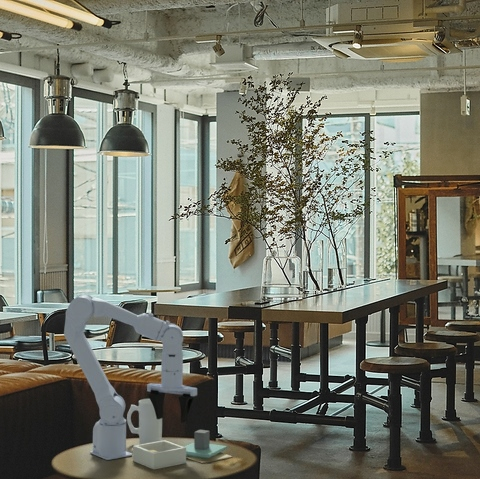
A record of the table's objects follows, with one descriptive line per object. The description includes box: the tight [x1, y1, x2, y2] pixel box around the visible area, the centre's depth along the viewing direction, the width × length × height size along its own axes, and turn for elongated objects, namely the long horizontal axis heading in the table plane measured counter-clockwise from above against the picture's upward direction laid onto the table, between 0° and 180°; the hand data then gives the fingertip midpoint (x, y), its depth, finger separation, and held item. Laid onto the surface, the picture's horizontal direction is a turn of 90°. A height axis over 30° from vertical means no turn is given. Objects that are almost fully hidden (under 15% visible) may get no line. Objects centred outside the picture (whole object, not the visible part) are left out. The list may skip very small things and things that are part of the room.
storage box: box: [132, 439, 187, 470], centre depth 238 cm, size 10×10×4 cm
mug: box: [126, 398, 163, 445], centre depth 258 cm, size 10×7×12 cm, turn 90°
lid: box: [183, 429, 228, 459], centre depth 245 cm, size 10×10×6 cm
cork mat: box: [186, 452, 234, 465], centre depth 246 cm, size 14×10×1 cm
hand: (171, 420), depth 245 cm, fingers open, 7 cm apart
